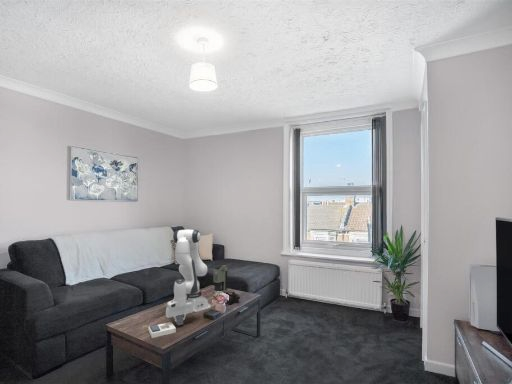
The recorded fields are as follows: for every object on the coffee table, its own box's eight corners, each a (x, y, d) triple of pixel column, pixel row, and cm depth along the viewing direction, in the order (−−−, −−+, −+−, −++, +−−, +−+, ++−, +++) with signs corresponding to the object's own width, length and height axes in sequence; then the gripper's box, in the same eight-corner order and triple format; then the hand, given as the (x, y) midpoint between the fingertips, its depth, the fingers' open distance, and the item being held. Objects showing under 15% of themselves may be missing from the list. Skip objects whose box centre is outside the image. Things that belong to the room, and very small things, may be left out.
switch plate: (171, 326, 213) (171, 320, 213) (175, 332, 203) (175, 326, 203) (148, 331, 205) (148, 325, 205) (151, 338, 194) (152, 332, 194)
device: (218, 298, 275) (218, 266, 276) (212, 296, 279) (212, 265, 280) (227, 294, 286) (228, 263, 287) (222, 292, 291) (222, 262, 291)
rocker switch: (181, 322, 217) (181, 314, 217) (183, 324, 214) (183, 316, 214) (176, 323, 215) (176, 315, 215) (177, 325, 212) (177, 317, 212)
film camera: (218, 304, 257) (219, 293, 258) (222, 300, 270) (222, 289, 270) (238, 306, 255) (238, 294, 255) (241, 301, 267) (241, 290, 267)
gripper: (191, 298, 223) (191, 315, 223) (165, 303, 212) (164, 322, 212) (194, 300, 218) (194, 319, 217) (167, 306, 207) (167, 325, 206)
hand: (179, 320), depth 215 cm, fingers closed on rocker switch, 4 cm apart
